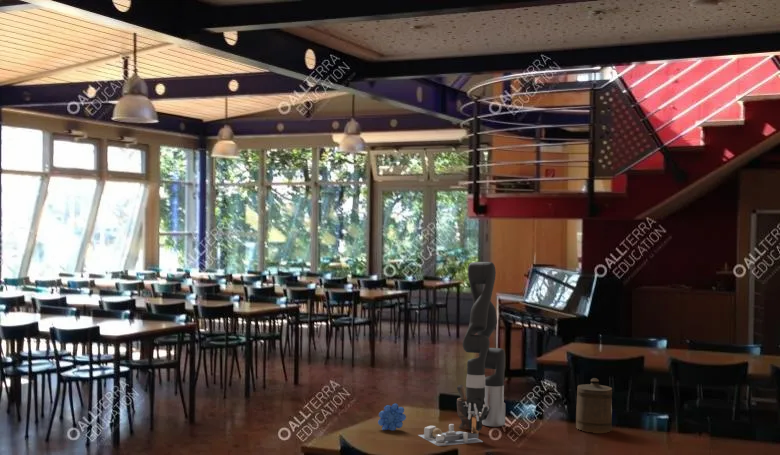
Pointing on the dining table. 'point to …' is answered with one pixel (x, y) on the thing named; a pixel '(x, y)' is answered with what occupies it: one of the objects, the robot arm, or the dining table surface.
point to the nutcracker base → (431, 439)
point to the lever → (453, 436)
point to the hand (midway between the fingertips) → (475, 429)
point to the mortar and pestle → (460, 411)
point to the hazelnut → (436, 432)
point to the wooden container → (594, 407)
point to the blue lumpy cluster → (391, 417)
